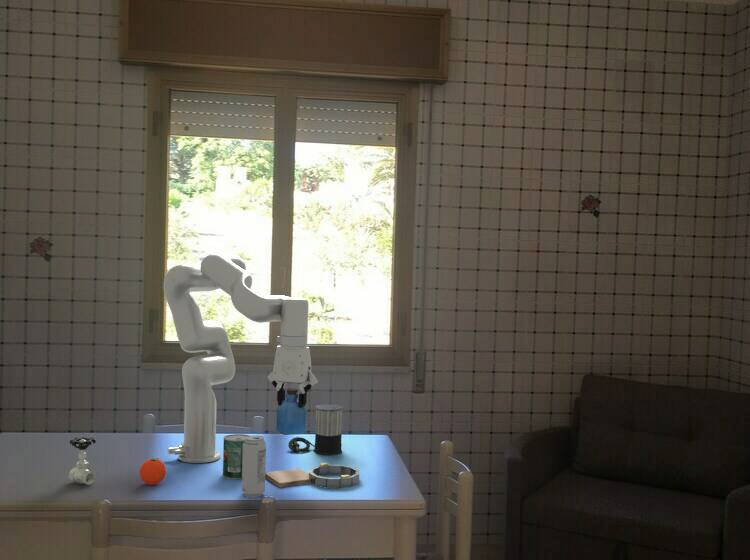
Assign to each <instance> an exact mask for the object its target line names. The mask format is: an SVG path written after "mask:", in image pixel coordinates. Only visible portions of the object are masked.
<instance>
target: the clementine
mask: <svg viewBox="0 0 750 560" xmlns="http://www.w3.org/2000/svg"><path fill="white" fill-rule="evenodd" d="M166 475H167V468H166V465H165V463H164V462H163V461H162V460H161V459H159V457H153V458H150V459H147V460H146V461H144V462H143V463H142V464H141V465H140V468H139V476H140V479H141V481H142V482H143V483H145V484H146V485H149V486H155V485H159V484H160V483H161V482H162V481H163V480H164V479H165V477H166Z"/></svg>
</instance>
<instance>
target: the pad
mask: <svg viewBox="0 0 750 560" xmlns="http://www.w3.org/2000/svg"><path fill="white" fill-rule="evenodd" d="M265 480H268V481H269V482H271V483H272V484H274V485H275V486H276V487H278V488H279V487H280V488H285V487H284V486H287V487H293V486H292V485H294V486H298V485H299V484H301V485H307V483H308V484H312V483H311V478H309V472H306V471H305V470H303V469H302V468H299V467H298V468H292V469H291V468H290V469H283V470H281V469H280V470H274V471H267V472H266V471H265Z"/></svg>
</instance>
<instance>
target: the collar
mask: <svg viewBox="0 0 750 560" xmlns="http://www.w3.org/2000/svg"><path fill="white" fill-rule="evenodd" d="M308 474H309V478H311V483H310V484H311V485H313V484H314V485H313V486H315V485H317V487H320V486H321V487H320V488H324V487H326V488H327V487H330V488H329V489H345V488H350V487H353V486H356V485H358V484H360V470H359V469H357V468H356V467H353V466H348V465H344V464H329V463H328V462H321V463H319V465H317V466H314V467H312V468H310V469H309V472H308ZM319 475H320V476H319ZM327 475H340V476H339V477H325V476H327Z"/></svg>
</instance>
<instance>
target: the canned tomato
mask: <svg viewBox="0 0 750 560" xmlns="http://www.w3.org/2000/svg"><path fill="white" fill-rule="evenodd" d="M247 436H250V435H249V434H243V433H235V434H227V435H224V437H223V449H222V450H223V452H222V453H223V455H222V457H223V458H222V477H223V478H225V479H227V480H242V458H243V443H244V441H245V438H246V437H247Z"/></svg>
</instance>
